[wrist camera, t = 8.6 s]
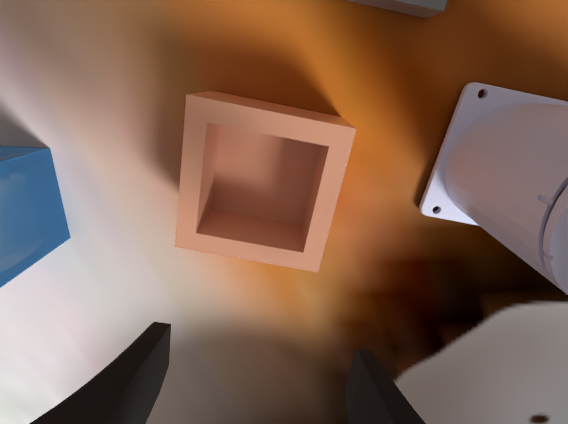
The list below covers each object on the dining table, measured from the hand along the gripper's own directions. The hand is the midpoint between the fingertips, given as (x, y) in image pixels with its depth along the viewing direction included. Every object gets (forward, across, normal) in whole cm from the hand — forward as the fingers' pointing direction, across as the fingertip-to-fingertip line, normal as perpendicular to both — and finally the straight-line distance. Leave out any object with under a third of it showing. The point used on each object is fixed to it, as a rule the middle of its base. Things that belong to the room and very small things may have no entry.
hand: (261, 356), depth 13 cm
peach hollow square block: (+10, +1, -5) cm, 12 cm away
